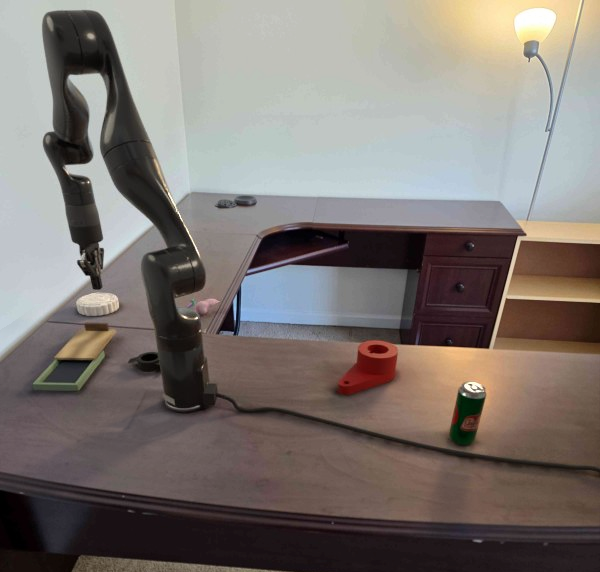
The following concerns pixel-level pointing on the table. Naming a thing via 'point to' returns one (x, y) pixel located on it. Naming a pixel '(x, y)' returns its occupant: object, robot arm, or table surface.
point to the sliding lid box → (76, 386)
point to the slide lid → (87, 342)
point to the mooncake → (97, 304)
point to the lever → (370, 367)
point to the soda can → (467, 413)
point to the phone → (68, 371)
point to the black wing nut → (147, 362)
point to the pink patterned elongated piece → (202, 305)
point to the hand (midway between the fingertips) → (97, 288)
